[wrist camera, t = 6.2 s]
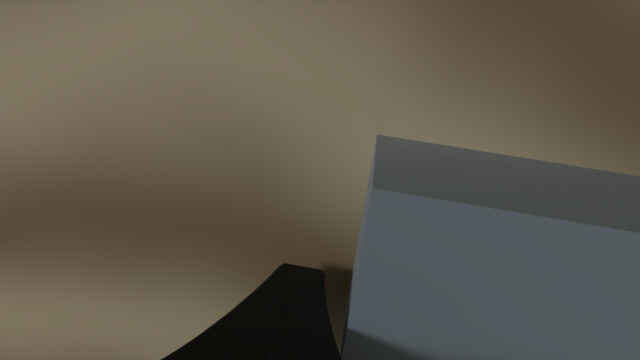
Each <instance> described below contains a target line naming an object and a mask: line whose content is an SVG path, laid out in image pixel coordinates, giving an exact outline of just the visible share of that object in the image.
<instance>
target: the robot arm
mask: <svg viewBox="0 0 640 360" xmlns="http://www.w3.org/2000/svg"><path fill="white" fill-rule="evenodd" d="M325 277H326V275H325V274H324V273H323V271H322V270H320V269H314V268H309V267H304V266H298V265H293V264H287V263H283V264H282V265H280V266H279V267H278V268H277V269H276V270H275V271H274V272H273V273H272V274H271V275H270V276H269V277H268V278H267V279H266V280H265V281H264V282H263V283H262V284H260V285H259V286H258V287H257V288H256V289H255V290H254V291H253V292H252V293H251V294H250V295H248V296H247V297H246V298H245V299H244V300H243V301H241V302H240V303H239V304H238V305H237V306H236V307H234V308H233V309H232V310H231V311H230V312H228V313H227V314H226V315H225V316H223V317H222V318H221V319H219V320H218V321H217V322H215V323H214V324H213V325H211V326H210V327H209V328H207V329H206V330H205V331H203V332H202V333H201V334H199V335H198V336H197V337H195V338H194V339H192V340H191V341H189V342H188V343H186V344H185V345H183V346H182V347H180V348H179V349H177V350H176V351H174V352H172V353H171V354H169V355H167V356H166V357H164V358H163V359H161V360H342V359H341V357H340V354H339V351H338V348H337V344H336V341H335V338H334V334H333V330H332V326H331V322H330V318H329V314H328V309H327V303H326V297H325Z"/></svg>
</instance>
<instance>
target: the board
mask: <svg viewBox="0 0 640 360" xmlns="http://www.w3.org/2000/svg"><path fill="white" fill-rule="evenodd" d="M377 134H378V135H384V136H390V137H397V138H403V139H409V140H415V141H422V142H428V143H434V144H441V145H447V146H453V147H459V148H466V149H472V150H478V151H485V152H491V153H497V154H504V155H510V156H516V157H522V158H529V159H535V160H541V161H548V162H554V163H560V164H566V165H573V166H579V167H585V168H592V169H598V170H604V171H611V172H617V173H623V174H629V175H636V176H640V0H0V360H161V359H163V358H164V357H166V356H167V355H169V354H171V353H172V352H174V351H176V350H177V349H179V348H180V347H182V346H183V345H185V344H186V343H188V342H189V341H191V340H192V339H194V338H195V337H197V336H198V335H199V334H201V333H202V332H203V331H205V330H206V329H207V328H209V327H210V326H211V325H213V324H214V323H215V322H217V321H218V320H219V319H221V318H222V317H223V316H225V315H226V314H227V313H228V312H230V311H231V310H232V309H233V308H234V307H236V306H237V305H238V304H239V303H240V302H241V301H243V300H244V299H245V298H246V297H247V296H248V295H250V294H251V293H252V292H253V291H254V290H255V289H256V288H257V287H258V286H259V285H260V284H262V283H263V282H264V281H265V280H266V279H267V278H268V277H269V276H270V275H271V274H272V273H273V272H274V271H275V270H276V269H277V268H278V267H279V266H280V265H282V264H283V263H287V264H293V265H298V266H304V267H309V268H314V269H320V270H322V271H323V273H324V274H325V275H326V277H325V297H326V303H327V309H328V314H329V318H330V322H331V326H332V330H333V334H334V338H335V341H336V344H337V348H338V351H339V346H340V340H341V335H342V329H343V323H344V318H345V312H346V307H347V301H348V295H349V290H350V284H351V278H352V273H353V267H354V261H355V256H356V250H357V244H358V239H359V233H360V227H361V222H362V216H363V211H364V205H365V199H366V194H367V188H368V182H369V177H370V171H371V165H372V160H373V154H374V148H375V143H376V137H377Z"/></svg>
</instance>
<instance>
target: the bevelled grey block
mask: <svg viewBox="0 0 640 360" xmlns="http://www.w3.org/2000/svg"><path fill="white" fill-rule="evenodd" d="M339 354H340V357H341V359H342V360H640V176H636V175H629V174H623V173H617V172H611V171H604V170H598V169H592V168H585V167H579V166H573V165H566V164H560V163H554V162H548V161H541V160H535V159H529V158H522V157H516V156H510V155H504V154H497V153H491V152H485V151H478V150H472V149H466V148H459V147H453V146H447V145H441V144H434V143H428V142H422V141H415V140H409V139H403V138H397V137H390V136H384V135H378V134H377V137H376V143H375V148H374V154H373V160H372V165H371V171H370V177H369V182H368V188H367V194H366V199H365V205H364V211H363V216H362V222H361V227H360V233H359V239H358V244H357V250H356V256H355V261H354V267H353V273H352V278H351V284H350V290H349V295H348V301H347V307H346V312H345V318H344V323H343V329H342V335H341V340H340V346H339Z"/></svg>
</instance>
